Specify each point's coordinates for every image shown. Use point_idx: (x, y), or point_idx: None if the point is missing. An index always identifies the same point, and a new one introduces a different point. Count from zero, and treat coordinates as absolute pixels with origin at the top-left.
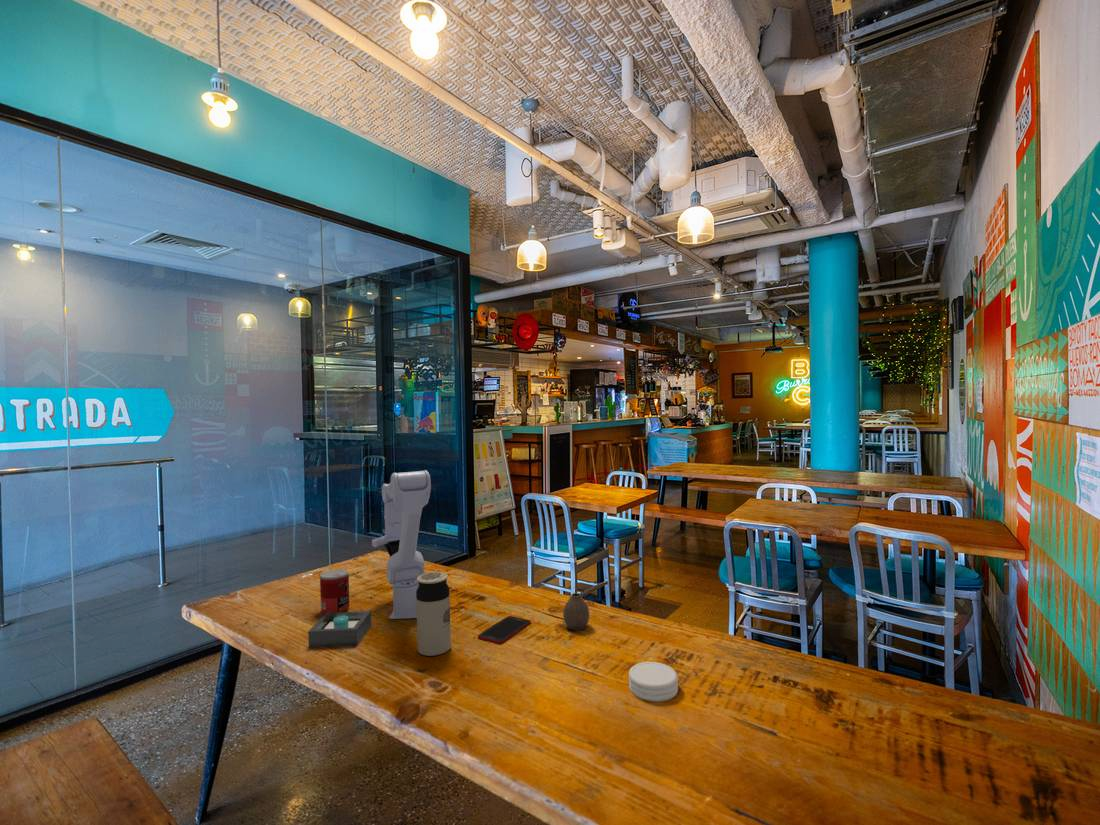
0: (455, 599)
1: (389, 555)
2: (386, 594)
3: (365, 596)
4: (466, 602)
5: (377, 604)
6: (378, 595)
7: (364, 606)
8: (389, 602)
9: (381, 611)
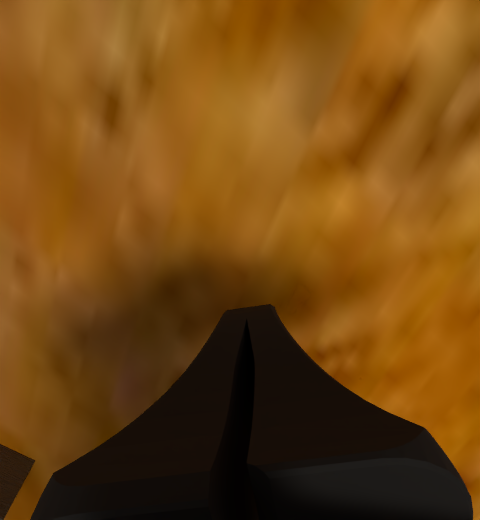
0: (464, 441)
1: (189, 367)
2: (217, 122)
3: (82, 53)
4: (472, 494)
5: (117, 254)
6: (166, 101)
7: (43, 234)
8: (185, 270)
9: (111, 357)
